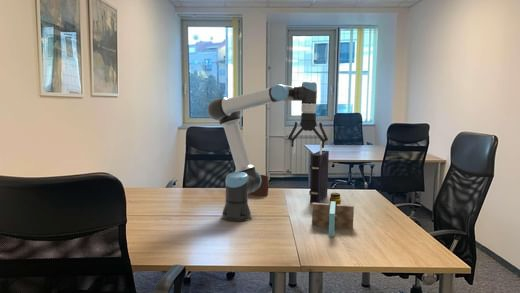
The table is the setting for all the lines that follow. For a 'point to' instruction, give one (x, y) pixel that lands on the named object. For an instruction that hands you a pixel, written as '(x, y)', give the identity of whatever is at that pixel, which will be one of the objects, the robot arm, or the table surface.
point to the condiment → (335, 200)
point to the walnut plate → (341, 218)
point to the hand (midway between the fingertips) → (307, 153)
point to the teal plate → (332, 219)
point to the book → (319, 176)
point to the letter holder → (262, 187)
